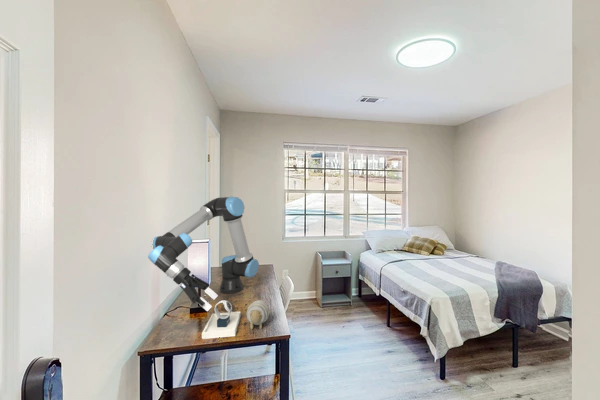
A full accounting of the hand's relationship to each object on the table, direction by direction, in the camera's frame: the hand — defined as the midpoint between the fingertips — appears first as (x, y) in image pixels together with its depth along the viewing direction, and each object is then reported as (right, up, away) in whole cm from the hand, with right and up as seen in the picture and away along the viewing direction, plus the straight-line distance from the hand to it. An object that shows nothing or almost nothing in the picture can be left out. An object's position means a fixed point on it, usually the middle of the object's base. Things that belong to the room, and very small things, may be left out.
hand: (213, 302), depth 119 cm
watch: (+5, -11, +1) cm, 12 cm away
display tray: (+4, -12, +1) cm, 12 cm away
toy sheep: (+21, -11, +2) cm, 24 cm away
